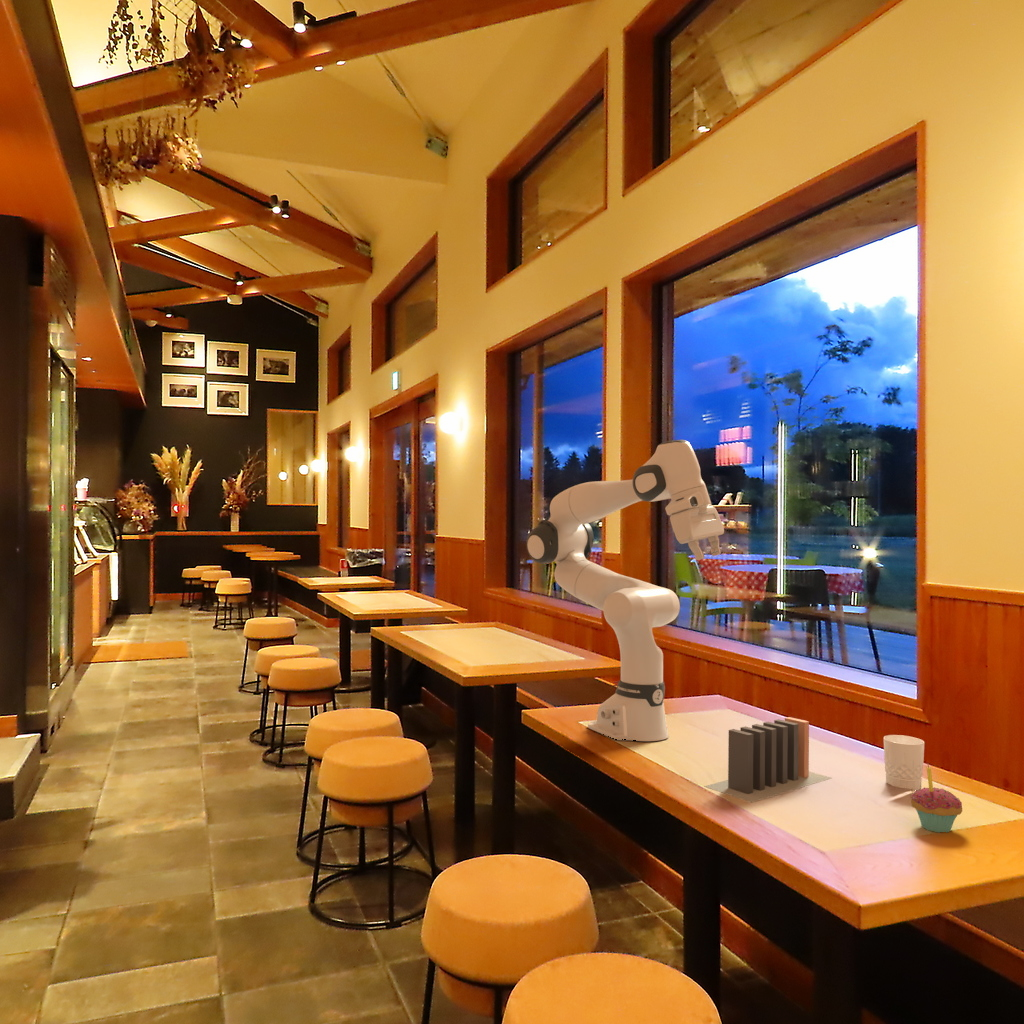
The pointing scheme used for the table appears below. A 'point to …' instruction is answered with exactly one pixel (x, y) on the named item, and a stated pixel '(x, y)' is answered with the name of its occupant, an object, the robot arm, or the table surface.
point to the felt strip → (768, 790)
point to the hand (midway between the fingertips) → (708, 557)
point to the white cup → (904, 761)
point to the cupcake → (936, 807)
